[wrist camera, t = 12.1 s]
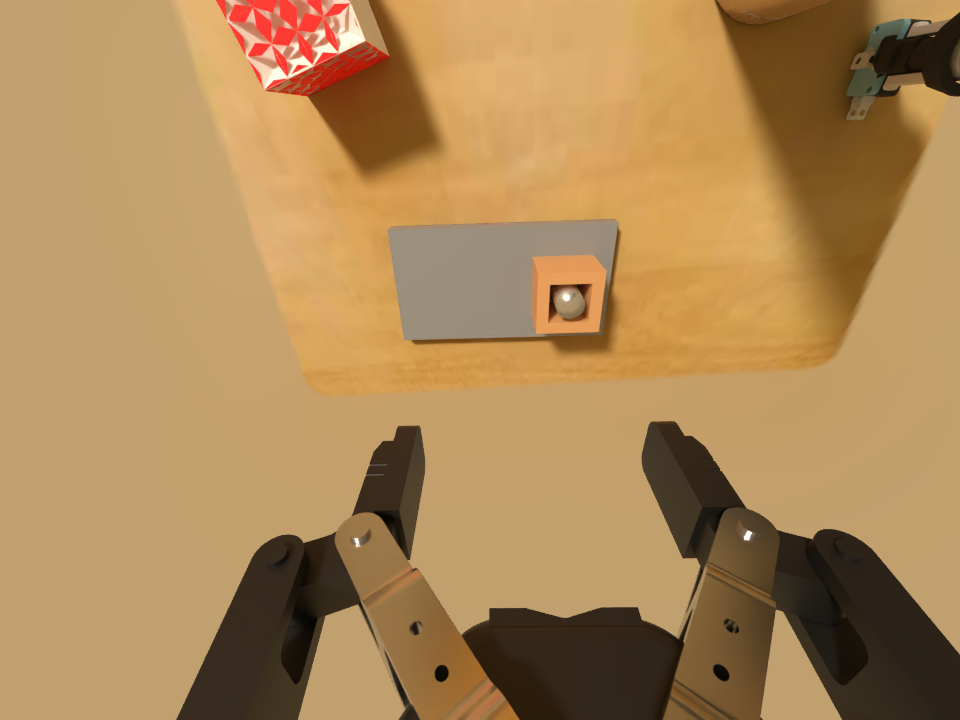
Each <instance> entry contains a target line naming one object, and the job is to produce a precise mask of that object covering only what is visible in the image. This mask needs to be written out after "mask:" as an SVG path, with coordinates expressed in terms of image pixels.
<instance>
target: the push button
mask: <svg viewBox="0 0 960 720" xmlns="http://www.w3.org/2000/svg"><path fill="white" fill-rule="evenodd" d="M934 35H935V37H929V36H934ZM860 57H861V60H860V62H859V64H858V65H856V62H857V60H858V59H859V58H860ZM850 68H851V70H855V69H856V71H855V73H854V76H853V78H852V80H851V83H850V85H849V87H848V89H847V92H846V96H854V97H853V99H852V102H851V105H852V106H851V108H850V110H849V112H848V114H847V117H846V120H863V119H864V118H865V116H866V114H867V112H868V110H869V107H870V105H873V103H874V101H875V99H876V97H888V96H894V95H896V94H897V93H898V91H899V89H900V87H901V86H902V85H914V84H925V85H926V86H927V87H929V88H932V89H935V90H937V91H940V92H943V93H944V94H946V95H949V96H960V84H959V83H957V82H955V81H960V12H959V13H958V14H957V15H956V16H954V17H953V18H952V19H949V20H945V21H940V22H935V23H931V21H930V20H916V19H899V20H895V21H891V22H886V23H882V24H878V25H877V26H876V27H875V28H874V29H873V31H872V33H871V37H870V39H869V41H868V44H867V46H866V48H865V50H864V52H862V53H858V54H857V55H856V56H855V58H854V60H853V63H852V65H851V67H850ZM853 110H855V114H854V115H853V116H851V112H852V111H853ZM862 110H864V114H863V115H861V116H860V115H859V114H860V112H861V111H862Z"/></svg>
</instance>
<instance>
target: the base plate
mask: <svg viewBox="0 0 960 720" xmlns="http://www.w3.org/2000/svg"><path fill="white" fill-rule="evenodd" d="M617 229H618V222H617V221H616V220H615V219H602V220H572V221H542V222H512V223H483V224H453V225H423V226H393V227H390V228H389V229H388V235H389V242H390V248H391V255H392V262H393V268H394V275H395V282H396V288H397V295H398V302H399V308H400V315H401V321H402V328H403V335H404V340H428V339H467V338H506V337H545V336H584V335H603V329H604V322H605V315H606V308H607V301H608V294H609V286H610V279H611V272H612V265H613V258H614V251H615V243H616V236H617ZM571 255H594V256H595V257H596V259H597V260H598V261H599V262H600V264H601V265H602V266H603V267H604V269H605V270H606V271H607V272H606V280H605V288H604V296H603V303H602V311H601V319H600V327H599V332H583V333H549V334H536V332H535V328H534V324H533V319H532V315H531V290H532V257H543V256H571ZM576 285H577V287H578V289H579V284H576ZM549 302H553V299H552V296H551V294H550V295H549Z"/></svg>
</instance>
